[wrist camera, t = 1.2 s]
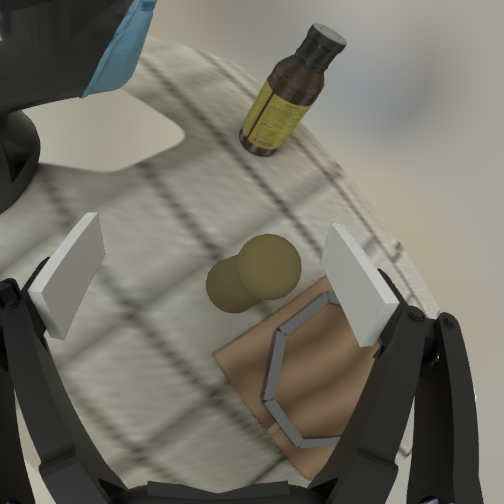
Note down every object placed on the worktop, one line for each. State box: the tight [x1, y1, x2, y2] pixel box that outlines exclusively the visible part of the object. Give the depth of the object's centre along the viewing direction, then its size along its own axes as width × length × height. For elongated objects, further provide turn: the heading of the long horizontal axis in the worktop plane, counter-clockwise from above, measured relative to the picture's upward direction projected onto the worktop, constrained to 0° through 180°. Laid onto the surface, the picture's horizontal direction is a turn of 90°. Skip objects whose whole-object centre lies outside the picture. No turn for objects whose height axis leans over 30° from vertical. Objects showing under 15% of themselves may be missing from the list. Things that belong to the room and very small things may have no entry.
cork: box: [206, 234, 301, 313], centre depth 25 cm, size 6×6×11 cm
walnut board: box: [212, 275, 380, 481], centre depth 30 cm, size 22×22×1 cm
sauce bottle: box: [239, 23, 347, 156], centre depth 28 cm, size 6×6×20 cm
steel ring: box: [260, 292, 382, 448], centre depth 30 cm, size 19×19×1 cm
